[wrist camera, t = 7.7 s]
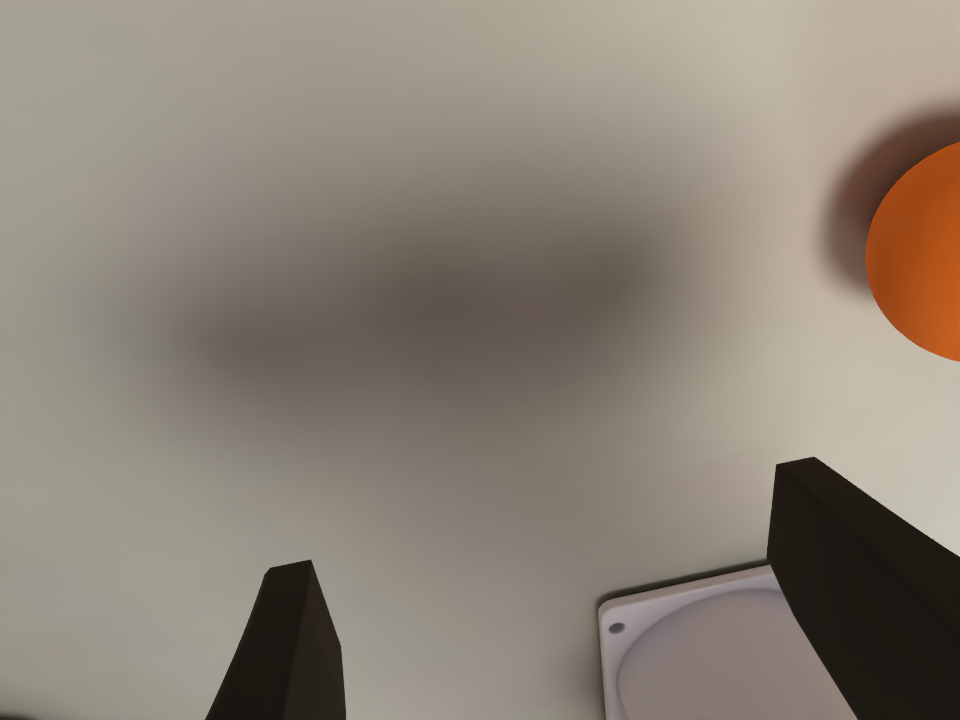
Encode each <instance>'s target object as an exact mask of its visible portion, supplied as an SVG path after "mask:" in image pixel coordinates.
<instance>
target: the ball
mask: <svg viewBox="0 0 960 720" xmlns="http://www.w3.org/2000/svg"><path fill="white" fill-rule="evenodd" d="M866 270H867V276H868V280H869V285H870V288H871V291H872V293H873V296H874V298H875V300H876V302H877V304H878V306H879V308H880V309H881V311H882V312H883V314H884V315H885V316H886V318H887V319H888V320H889V322H890V323H891V324H892V325H893V326H894V327H895V328H896V329H897V330H898V331H899V332H901V333H902V334H903V335H904V336H905V337H907V338H908V339H909V340H911V341H912V342H913V343H915V344H916V345H918V346H920V347H922V348H923V349H925V350H927V351H929V352H932V353H934V354H937V355H939V356H942V357H944V358H948V359H951V360H955V361H959V362H960V142H958V143H955V144H952V145H950V146H947V147H945V148H943V149H941V150H939V151H937V152H935V153H933V154H931V155H930V156H928V157H926V158H924V159H923V160H922V161H920V162H919V163H918V164H916V165H915V166H914V167H912V168H911V169H910V170H908V171H907V172H906V173H905V174H904V175H903V176H902V177H901V178H900V179H899V180H898V181H897V182H896V183H895V184H894V186H893V187H892V188H891V189H890V190H889V192H888V193H887V194H886V196H885V197H884V199H883V200H882V202H881V204H880V206H879V208H878V210H877V211H876V213H875V215H874V218H873V220H872V223H871V226H870V230H869V234H868V238H867V244H866Z"/></svg>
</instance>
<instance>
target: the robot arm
mask: <svg viewBox="0 0 960 720" xmlns="http://www.w3.org/2000/svg"><path fill="white" fill-rule="evenodd" d="M767 559H768V561H769V563H770V565H766V566H761V567H756V568H752V569H747V570H743V571H738V572H733V573H729V574H724V575H720V576H715V577H710V578H706V579H701V580H697V581H692V582H688V583H683V584H678V585H674V586H669V587H665V588H660V589H655V590H651V591H646V592H642V593H637V594H632V595H628V596H623V597H619V598H614V599H611V600H608V601H606V602H604V603H603V604H602V605H601V606H600V608H599V610H598V620H599V633H600V647H601V660H602V674H603V687H604V701H605V714H606V720H960V557H959V556H957V555H956V554H954V553H953V552H951V551H949V550H948V549H946V548H945V547H943V546H942V545H940V544H939V543H937V542H936V541H934V540H933V539H931V538H930V537H928V536H927V535H925V534H924V533H922V532H921V531H919V530H918V529H916V528H915V527H913V526H912V525H910V524H909V523H908V522H906V521H905V520H903V519H902V518H900V517H899V516H897V515H896V514H895V513H893V512H892V511H890V510H889V509H887V508H886V507H885V506H883V505H882V504H880V503H879V502H878V501H876V500H875V499H873V498H872V497H870V496H869V495H868V494H866V493H865V492H863V491H862V490H861V489H859V488H858V487H856V486H855V485H854V484H852V483H851V482H849V481H848V480H847V479H845V478H844V477H842V476H841V475H840V474H838V473H837V472H835V471H834V470H833V469H831V468H830V467H828V466H827V465H826V464H824V463H823V462H821V461H820V460H818V459H817V458H815V457H810V458H805V459H800V460H795V461H790V462H786V463H781V464H776V471H775V481H774V490H773V500H772V509H771V518H770V528H769V537H768V546H767ZM205 720H346V706H345V692H344V678H343V666H342V654H341V645H340V642H339V639H338V637H337V634H336V631H335V628H334V625H333V622H332V619H331V616H330V613H329V610H328V608H327V605H326V602H325V599H324V596H323V593H322V590H321V587H320V584H319V581H318V578H317V576H316V573H315V570H314V567H313V564H312V561H311V560H306V561H301V562H296V563H291V564H287V565H282V566H277V567H272V568H270V569H269V570H268V571H267V572H266V574H265V575H264V578H263V581H262V584H261V587H260V590H259V593H258V596H257V599H256V601H255V604H254V607H253V610H252V612H251V615H250V618H249V620H248V623H247V625H246V628H245V630H244V633H243V635H242V638H241V640H240V643H239V645H238V648H237V650H236V652H235V655H234V657H233V659H232V662H231V664H230V666H229V668H228V671H227V673H226V675H225V677H224V680H223V682H222V684H221V686H220V689H219V691H218V693H217V695H216V698H215V700H214V702H213V704H212V706H211V708H210V711H209V713H208V715H207V717H206V719H205Z"/></svg>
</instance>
